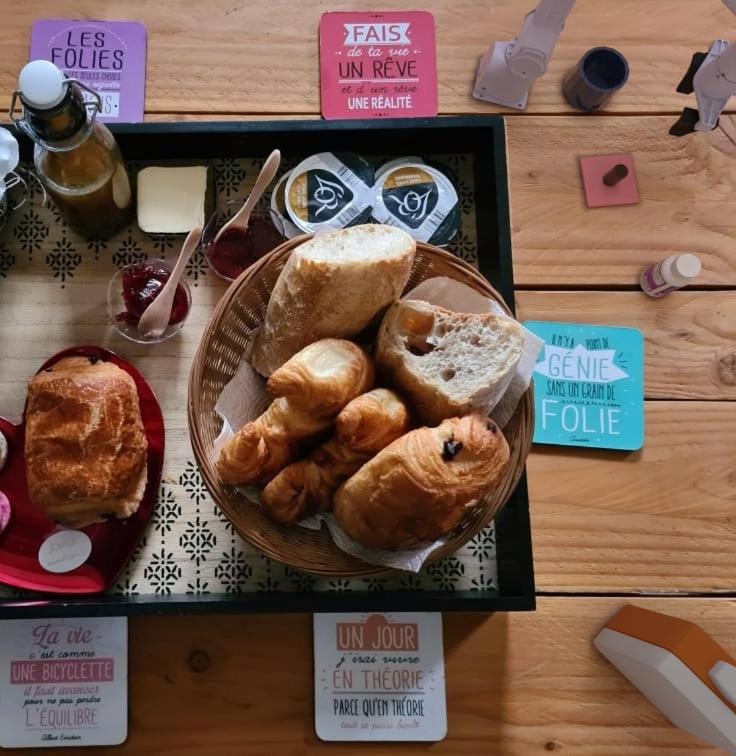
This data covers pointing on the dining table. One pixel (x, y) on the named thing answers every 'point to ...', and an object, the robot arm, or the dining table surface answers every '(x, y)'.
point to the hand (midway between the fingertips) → (678, 112)
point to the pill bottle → (670, 274)
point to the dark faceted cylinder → (595, 78)
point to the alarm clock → (676, 671)
